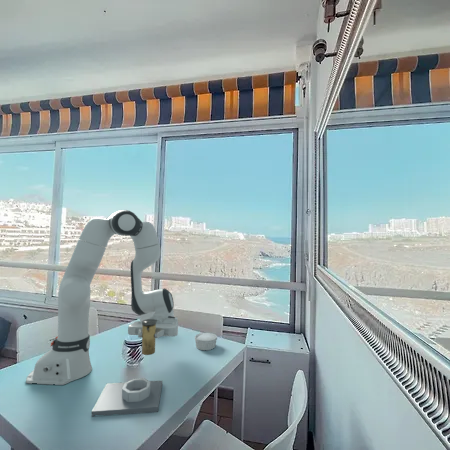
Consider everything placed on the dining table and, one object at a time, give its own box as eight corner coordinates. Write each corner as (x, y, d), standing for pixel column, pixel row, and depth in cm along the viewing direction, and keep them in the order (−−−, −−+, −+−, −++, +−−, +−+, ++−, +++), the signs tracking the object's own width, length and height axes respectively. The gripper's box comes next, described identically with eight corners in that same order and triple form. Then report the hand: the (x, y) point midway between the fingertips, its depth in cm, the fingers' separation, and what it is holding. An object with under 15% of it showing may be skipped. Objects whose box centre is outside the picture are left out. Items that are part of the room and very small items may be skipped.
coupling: (154, 356, 106) (155, 324, 106) (139, 356, 105) (140, 324, 105) (156, 347, 113) (157, 318, 113) (142, 348, 112) (143, 318, 113)
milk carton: (139, 329, 162) (140, 297, 163) (145, 325, 169) (146, 294, 170) (151, 330, 161) (152, 297, 162) (156, 326, 168) (157, 294, 169)
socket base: (91, 416, 86) (91, 401, 86) (106, 387, 102) (106, 375, 102) (157, 411, 89) (158, 397, 89) (162, 384, 105) (162, 372, 105)
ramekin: (196, 342, 145) (196, 332, 146) (217, 342, 145) (217, 332, 145) (193, 351, 134) (193, 340, 134) (216, 352, 134) (216, 341, 134)
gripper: (134, 316, 122) (121, 326, 109) (181, 317, 122) (174, 328, 108) (134, 330, 122) (121, 343, 108) (180, 332, 122) (173, 345, 108)
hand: (148, 335), depth 108 cm, fingers closed on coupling, 5 cm apart
